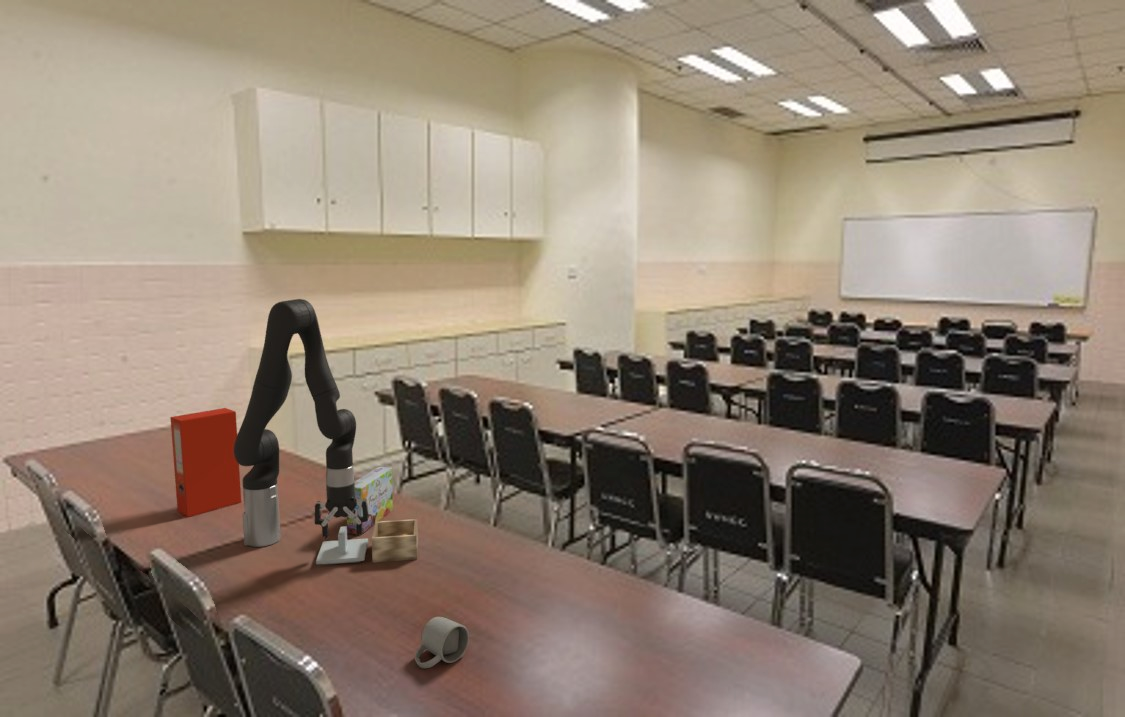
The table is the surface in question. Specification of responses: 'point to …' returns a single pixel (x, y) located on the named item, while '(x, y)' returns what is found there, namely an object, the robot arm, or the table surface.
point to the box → (395, 540)
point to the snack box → (373, 497)
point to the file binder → (205, 461)
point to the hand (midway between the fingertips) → (342, 536)
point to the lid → (342, 550)
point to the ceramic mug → (442, 641)
